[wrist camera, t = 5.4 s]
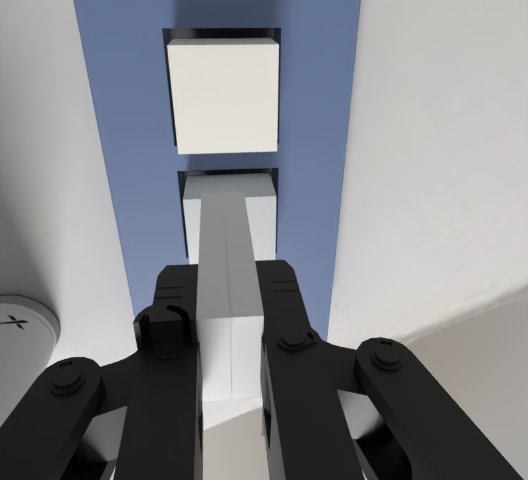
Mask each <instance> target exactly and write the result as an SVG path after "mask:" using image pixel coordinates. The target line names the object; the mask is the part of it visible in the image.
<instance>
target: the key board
mask: <svg viewBox="0 0 528 480" xmlns="http://www.w3.org/2000/svg"><path fill="white" fill-rule="evenodd" d="M73 1H74V6H75V11H76V16H77V21H78V27H79V32H80V37H81V42H82V47H83V52H84V58H85V63H86V68H87V73H88V78H89V84H90V89H91V94H92V99H93V104H94V109H95V115H96V120H97V125H98V130H99V135H100V141H101V146H102V151H103V156H104V161H105V166H106V172H107V177H108V182H109V187H110V192H111V198H112V203H113V208H114V213H115V218H116V223H117V229H118V234H119V239H120V244H121V249H122V255H123V260H124V265H125V270H126V275H127V280H128V286H129V291H130V296H131V301H132V306H133V312H134V317H135V318H136V316H137V314H139V313H140V312H141V311H142V310H143V309H144V308H146V307H148V306H151V305H152V304H153V300H154V293H155V287H156V281H157V276H158V275H159V273H160V272H161V271H162V270H163V269H164V268H165V266H166V265H185V264H189V254H188V244H187V234H186V225H185V215H184V205H183V196H184V190H185V186H184V175H183V171H196V170H226V169H256V168H272V183H273V187H274V190H275V193H276V248H275V260H285V261H286V262H287V263H288V264H289V265H290V266H291V267H292V268H293V269H294V271H295V274H296V278H297V282H298V285H299V288H300V292H301V295H302V298H303V302H304V305H305V309H306V312H307V315H308V319H309V322H310V325H311V327H312V329H314V330H315V331H316V332H317V333H318V334H319V336H320V338H321V339H322V340H324V341H326V342H327V335H328V325H329V315H330V305H331V295H332V285H333V275H334V264H335V254H336V244H337V234H338V224H339V214H340V204H341V194H342V183H343V173H344V163H345V153H346V143H347V133H348V123H349V113H350V102H351V92H352V82H353V72H354V62H355V52H356V42H357V32H358V21H359V11H360V1H361V0H73ZM169 28H273V40H274V41H275V42H276V43H278V44H279V66H278V127H277V151H271V152H238V153H205V154H178V147H177V137H176V127H175V117H174V107H173V98H172V88H171V78H170V68H169V59H168V49H167V45H168V44H169V43H170V34H169Z"/></svg>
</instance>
